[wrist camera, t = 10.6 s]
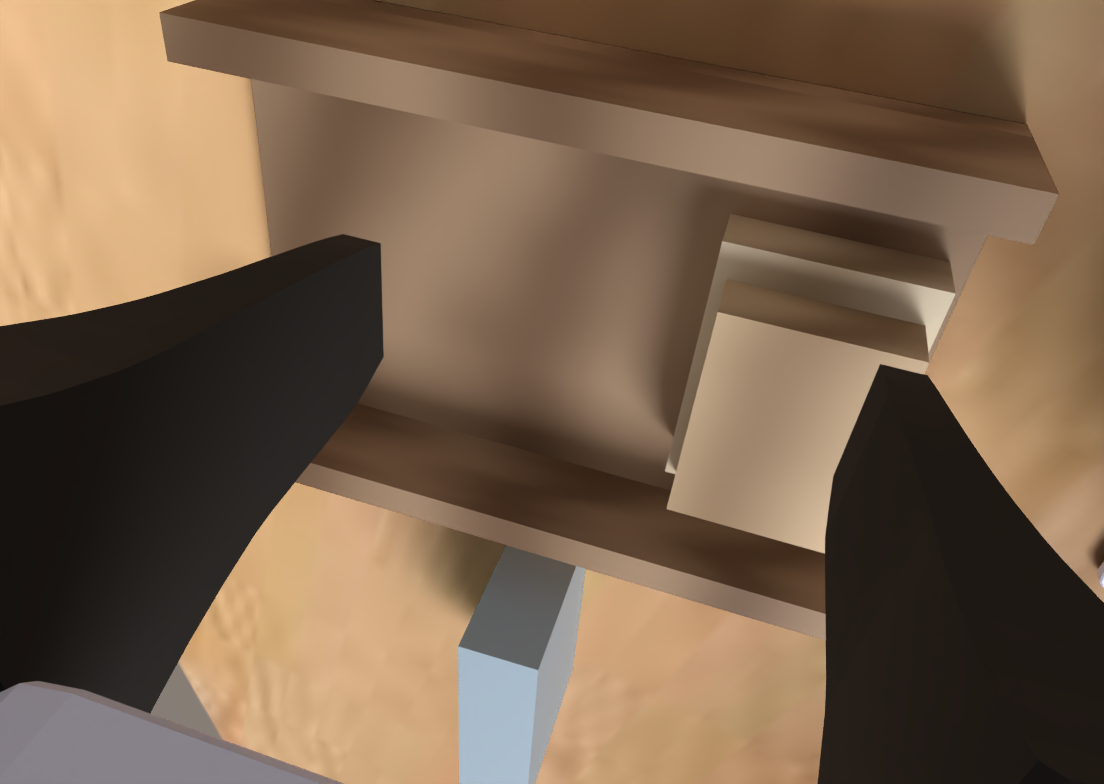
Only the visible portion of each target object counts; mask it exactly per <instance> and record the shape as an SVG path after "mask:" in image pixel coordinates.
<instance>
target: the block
mask: <svg viewBox="0 0 1104 784" xmlns="http://www.w3.org/2000/svg"><path fill="white" fill-rule="evenodd" d="M585 570H586V569H584V568H581V567H578V566H574V565H571V564H568V563H564V562H561V561H558V560H554V559H551V558H548V557H544V556H541V555H538V554H534V553H531V552H528V551H524V550H521V549H517V548H514V547H511V546H507V545H505V547H504V550H503V552H502V554H501V556H500V558H499V560H498V562H497V565H496V567H495V569H494V571H493V573H492V575H491V577H490V580H489V582H488V584H487V586H486V588H485V590H484V592H483V595H482V597H481V599H480V601H479V603H478V605H477V607H476V610H475V612H474V614H473V616H472V618H471V620H470V622H469V625H468V627H467V629H466V631H465V633H464V635H463V637H462V640H461V642H460V644H459V646H458V671H459V784H535V782H536V779H537V776H538V773H539V770H540V767H541V764H542V761H543V758H544V755H545V751H546V748H547V745H548V742H549V739H550V736H551V733H552V730H553V727H554V724H555V721H556V718H557V715H558V712H559V709H560V706H561V703H562V700H563V697H564V694H565V690H566V687H567V684H568V681H569V678H570V675H571V672H572V669H573V663H574V655H575V648H576V640H577V632H578V624H579V617H580V609H581V601H582V593H583V586H584V578H585Z"/></svg>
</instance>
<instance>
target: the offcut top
mask: <svg viewBox="0 0 1104 784" xmlns="http://www.w3.org/2000/svg"><path fill="white" fill-rule="evenodd" d="M880 364H882V365H886V366H891V367H895V368H899V369H903V370H907V371H911V372H915V373H920V374H924V373H925V371H926V369H927V367H928V365H929V354H928V345H927V335H926V326H925V325H920V324H916V323H912V322H907V321H903V320H899V319H894V318H890V317H886V316H882V315H877V314H873V313H869V312H864V311H860V310H856V309H851V308H847V307H843V306H839V305H834V304H830V303H826V302H821V301H817V300H813V299H808V298H804V297H800V296H796V295H791V294H787V293H783V292H778V291H774V290H770V289H765V288H761V287H757V286H752V285H748V284H744V283H740V282H735V281H731V280H726V283H725V287H724V291H723V294H722V298H721V302H720V305H719V309H718V313H717V317H716V320H715V324H714V328H713V332H712V336H711V340H710V344H709V347H708V351H707V355H706V359H705V363H704V367H703V370H702V374H701V378H700V382H699V386H698V390H697V393H696V397H695V401H694V405H693V409H692V413H691V416H690V420H689V424H688V428H687V432H686V436H685V440H684V443H683V447H682V451H681V455H680V459H679V463H678V466H677V470H676V474H675V478H674V482H673V486H672V489H671V493H670V497H669V501H668V505H667V509H668V510H672V511H675V512H679V513H682V514H686V515H689V516H693V517H697V518H700V519H704V520H707V521H711V522H714V523H718V524H721V525H725V526H729V527H732V528H736V529H739V530H743V531H746V532H750V533H753V534H757V535H760V536H764V537H768V538H771V539H775V540H778V541H782V542H785V543H789V544H792V545H796V546H800V547H803V548H807V549H810V550H814V551H817V552H821V553H824V554H825V534H826V526H827V518H828V510H829V502H830V495H831V488H832V481H833V476H834V473H835V471H836V468H837V466H838V464H839V461H840V459H841V456H842V454H843V452H844V449H845V447H846V444H847V442H848V440H849V437H850V435H851V432H852V430H853V428H854V425H855V423H856V421H857V418H858V416H859V413H860V411H861V409H862V406H863V404H864V401H865V399H866V397H867V394H868V392H869V389H870V387H871V385H872V382H873V380H874V377H875V375H876V373H877V370H878V368H879V365H880Z"/></svg>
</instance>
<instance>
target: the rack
mask: <svg viewBox="0 0 1104 784" xmlns="http://www.w3.org/2000/svg"><path fill="white" fill-rule="evenodd" d="M160 19H161V25H162V31H163V37H164V42H165V48H166V54H167V60H168V61H169V62H174V63H179V64H183V65H188V66H193V67H198V68H202V69H207V70H212V71H216V72H221V73H226V74H230V75H235V76H240V77H245V78H249V79H251V81H252V90H253V98H254V107H255V116H256V124H257V133H258V142H259V150H260V159H261V168H262V176H263V185H264V194H265V202H266V211H267V220H268V229H269V237H270V246H271V255H272V256H275V255H278V254H280V253H283V252H286V251H289V250H292V249H295V248H297V247H300V246H303V245H306V244H309V243H312V242H315V241H319V240H322V239H325V238H329V237H333V236H337V235H341V234H345V235H349V236H353V237H357V238H361V239H366V240H370V241H374V242H378V243H381V272H382V311H383V349H384V357H383V359H382V361H381V363H380V364H379V366H378V368H377V370H376V372H375V373H374V375H373V377H372V379H371V381H370V382H369V384H368V386H367V388H366V389H365V391H364V393H363V394H362V396H361V398H360V399H359V401H358V403H357V404H356V406H355V407H354V409H353V410H352V411H351V413H350V414H349V415H348V417H347V418H346V419H345V420H344V422H343V423H342V424H341V426H340V427H339V428H338V429H337V431H336V432H335V433H334V434H333V436H332V437H331V438H330V439H329V441H328V442H327V443H326V444H325V446H324V447H323V448H322V449H321V451H320V452H319V453H318V454H317V456H316V457H315V458H314V459H313V461H312V462H311V463H310V464H309V465H308V467H307V468H306V469H305V470H304V472H303V473H302V474H301V475H300V477H299V478H298V479H297V480H296V482H297V483H300V484H303V485H307V486H310V487H313V488H317V489H320V490H323V491H327V492H330V493H333V494H337V495H340V496H343V497H347V498H350V499H353V500H357V501H360V502H363V503H367V504H370V505H374V506H377V507H380V508H384V509H387V510H390V511H394V512H397V513H400V514H404V515H407V516H410V517H414V518H417V519H420V520H424V521H427V522H430V523H434V524H437V525H440V526H444V527H447V528H451V529H454V530H457V531H461V532H464V533H467V534H471V535H474V536H477V537H481V538H484V539H487V540H491V541H494V542H497V543H501V544H504V545H507V546H511V547H514V548H517V549H521V550H524V551H528V552H531V553H534V554H538V555H541V556H544V557H548V558H551V559H554V560H558V561H561V562H564V563H568V564H571V565H574V566H578V567H581V568H584V569H588V570H591V571H594V572H598V573H601V574H605V575H608V576H611V577H615V578H618V579H621V580H625V581H628V582H631V583H635V584H638V585H641V586H645V587H648V588H651V589H655V590H658V591H661V592H665V593H668V594H672V595H675V596H678V597H682V598H685V599H688V600H692V601H695V602H698V603H702V604H705V605H708V606H712V607H715V608H718V609H722V610H725V611H728V612H732V613H735V614H738V615H742V616H745V617H749V618H752V619H755V620H759V621H762V622H765V623H769V624H772V625H775V626H779V627H782V628H785V629H789V630H792V631H795V632H799V633H802V634H805V635H809V636H812V637H815V638H819V639H822V640H826V614H825V554H824V553H821V552H817V551H814V550H810V549H807V548H803V547H800V546H796V545H792V544H789V543H785V542H782V541H778V540H775V539H771V538H768V537H764V536H760V535H757V534H753V533H750V532H746V531H743V530H739V529H736V528H732V527H729V526H725V525H721V524H718V523H714V522H711V521H707V520H704V519H700V518H697V517H693V516H689V515H686V514H682V513H679V512H675V511H672V510H668V509H667V505H668V501H669V497H670V493H671V489H672V486H673V482H674V478H675V474H672V473H669V472H665V469H666V465H667V461H668V457H669V453H670V449H671V445H672V441H673V437H674V433H675V429H676V425H677V421H678V417H679V413H680V409H681V405H682V401H683V397H684V393H685V389H686V385H687V381H688V377H689V373H690V369H691V365H692V361H693V357H694V353H695V349H696V345H697V341H698V337H699V333H700V329H701V325H702V321H703V317H704V313H705V309H706V305H707V301H708V297H709V293H710V289H711V285H712V281H713V277H714V273H715V269H716V265H717V261H718V257H719V253H720V249H721V245H722V241H723V237H724V234H725V231H726V227H727V224H728V221H729V218H730V214H734V215H738V216H743V217H747V218H752V219H757V220H761V221H766V222H770V223H775V224H779V225H784V226H788V227H793V228H798V229H802V230H807V231H811V232H816V233H820V234H825V235H830V236H834V237H839V238H843V239H848V240H852V241H857V242H861V243H866V244H871V245H875V246H880V247H884V248H889V249H893V250H898V251H903V252H907V253H912V254H916V255H921V256H925V257H930V258H935V259H939V260H944V261H948V262H950V264H951V269H952V275H953V281H954V287H955V292H956V294H955V296H954V298H953V301H952V303H951V305H950V307H949V309H948V312H947V314H946V316H945V318H944V320H943V323H942V325H941V327H940V329H939V331H938V334H937V336H936V338H935V340H934V342H933V344H932V347H931V349H930V351H929V353H928V354H929V362H930V360H931V357H932V355H933V353H934V351H935V349H936V347H937V344H938V342H939V340H940V338H941V336H942V334H943V331H944V329H945V327H946V325H947V323H948V321H949V318H950V316H951V314H952V312H953V310H954V308H955V305H956V303H957V301H958V299H959V297H960V295H961V292H962V290H963V288H964V286H965V284H966V282H967V279H968V277H969V275H970V273H971V271H972V268H973V266H974V264H975V262H976V260H977V258H978V255H979V253H980V251H981V249H982V247H983V245H984V242H985V240H986V238H987V236H993V237H997V238H1002V239H1007V240H1011V241H1016V242H1021V243H1026V244H1030V245H1034V244H1035V242H1036V240H1037V238H1038V236H1039V234H1040V232H1041V230H1042V228H1043V226H1044V224H1045V222H1046V220H1047V218H1048V216H1049V214H1050V212H1051V210H1052V208H1053V206H1054V204H1055V202H1056V200H1057V198H1058V196H1059V193H1058V191H1057V188H1056V186H1055V184H1054V182H1053V180H1052V178H1051V175H1050V173H1049V171H1048V169H1047V167H1046V165H1045V162H1044V160H1043V158H1042V156H1041V154H1040V151H1039V149H1038V147H1037V145H1036V143H1035V141H1034V138H1033V136H1032V134H1031V132H1030V130H1029V128H1028V125H1027V124H1021V123H1016V122H1011V121H1005V120H1000V119H995V118H990V117H984V116H979V115H974V114H969V113H963V112H958V111H953V110H948V109H942V108H937V107H932V106H927V105H921V104H916V103H911V102H906V101H900V100H895V99H890V98H884V97H879V96H874V95H869V94H863V93H858V92H853V91H848V90H842V89H837V88H832V87H827V86H821V85H816V84H811V83H806V82H800V81H795V80H790V79H785V78H779V77H774V76H769V75H763V74H758V73H753V72H748V71H742V70H737V69H732V68H727V67H721V66H716V65H711V64H706V63H700V62H695V61H690V60H685V59H679V58H674V57H669V56H664V55H658V54H653V53H648V52H642V51H637V50H632V49H627V48H621V47H616V46H611V45H606V44H600V43H595V42H590V41H585V40H579V39H574V38H569V37H564V36H558V35H553V34H548V33H543V32H537V31H532V30H527V29H521V28H516V27H511V26H506V25H500V24H495V23H490V22H485V21H479V20H474V19H469V18H464V17H458V16H453V15H448V14H443V13H437V12H432V11H427V10H422V9H416V8H411V7H406V6H400V5H395V4H390V3H385V2H379V1H374V0H195V1H192V2H189V3H186V4H183V5H180V6H177V7H174V8H171V9H168V10H165V11H163V12H160Z"/></svg>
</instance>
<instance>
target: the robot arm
mask: <svg viewBox="0 0 1104 784" xmlns="http://www.w3.org/2000/svg"><path fill="white" fill-rule="evenodd" d="M383 357H384V349H383V311H382V272H381V243H378V242H374V241H370V240H366V239H361V238H357V237H353V236H349V235H345V234H341V235H337V236H333V237H329V238H325V239H322V240H319V241H315V242H312V243H309V244H306V245H303V246H300V247H297V248H295V249H292V250H289V251H286V252H283V253H280V254H278V255H275V256H272V257H269V258H266V259H263V260H261V261H258V262H255V263H252V264H249V265H246V266H244V267H241V268H238V269H235V270H232V271H229V272H227V273H224V274H221V275H218V276H214V277H211V278H208V279H205V280H202V281H198V282H195V283H192V284H189V285H186V286H182V287H179V288H176V289H173V290H170V291H166V292H163V293H160V294H157V295H153V296H150V297H146V298H142V299H139V300H135V301H131V302H127V303H123V304H119V305H114V306H110V307H105V308H101V309H97V310H92V311H88V312H83V313H78V314H73V315H68V316H63V317H57V318H50V319H44V320H38V321H32V322H25V323H19V324H13V325H6V326H0V784H344V783H341V782H338V781H335V780H333V779H330V778H327V777H324V776H322V775H319V774H316V773H313V772H310V771H308V770H305V769H302V768H299V767H297V766H294V765H291V764H288V763H285V762H283V761H280V760H277V759H274V758H272V757H269V756H266V755H263V754H261V753H258V752H255V751H252V750H249V749H247V748H244V747H241V746H238V745H236V744H233V743H230V742H227V741H225V740H222V739H219V738H216V737H213V736H211V735H208V734H205V733H202V732H199V731H197V730H194V729H191V728H188V727H186V726H183V725H180V724H177V723H175V722H172V721H169V720H166V719H164V718H161V717H158V716H155V715H152V714H150V713H151V711H152V709H153V707H154V705H155V703H156V701H157V699H158V698H159V696H160V694H161V692H162V690H163V688H164V687H165V685H166V683H167V681H168V679H169V678H170V675H171V674H172V672H173V670H174V669H175V666H176V665H177V663H178V661H179V659H180V658H181V656H182V654H183V652H184V650H185V648H186V647H187V645H188V643H189V641H190V639H191V638H192V636H193V634H194V633H195V631H196V629H197V628H198V626H199V624H200V622H201V621H202V619H203V617H204V616H205V614H206V612H207V611H208V609H209V607H210V606H211V604H212V602H213V601H214V599H215V597H216V595H217V594H218V592H219V590H220V589H221V587H222V585H223V584H224V582H225V580H226V579H227V577H228V576H229V574H230V573H231V571H232V569H233V568H234V566H235V565H236V563H237V562H238V560H239V558H240V557H241V555H242V554H243V552H244V551H245V549H246V547H247V546H248V544H249V543H250V541H251V539H252V538H253V536H254V535H255V533H256V532H257V530H258V529H259V528H260V526H261V525H262V524H263V522H264V521H265V520H266V518H267V517H268V515H269V514H270V513H271V511H272V510H273V509H274V507H275V506H276V505H277V504H278V503H279V501H280V500H281V499H282V498H283V496H284V495H285V494H286V493H287V491H288V490H289V489H290V488H291V486H292V485H293V484H294V483H295V482H296V480H297V479H298V478H299V477H300V475H301V474H302V473H303V472H304V470H305V469H306V468H307V467H308V465H309V464H310V463H311V462H312V461H313V459H314V458H315V457H316V456H317V454H318V453H319V452H320V451H321V449H322V448H323V447H324V446H325V444H326V443H327V442H328V441H329V439H330V438H331V437H332V436H333V434H334V433H335V432H336V431H337V429H338V428H339V427H340V426H341V424H342V423H343V422H344V420H345V419H346V418H347V417H348V415H349V414H350V413H351V411H352V410H353V409H354V407H355V406H356V404H357V403H358V401H359V399H360V398H361V396H362V394H363V393H364V391H365V389H366V388H367V386H368V384H369V382H370V381H371V379H372V377H373V375H374V373H375V372H376V370H377V368H378V366H379V364H380V363H381V361H382V359H383ZM1097 573H1098V577H1099V581H1100V584H1101V586H1102V587H1103V588H1104V562H1103V563H1102V564H1101V566H1100V567H1099V569H1098V572H1097ZM825 614H826V702H825V718H824V727H823V737H822V747H821V757H820V767H819V777H818V784H1104V603H1103V602H1102V601H1101V600H1100V599H1099V598H1098V597H1097V595H1096V594H1095V593H1094V592H1093V591H1092V590H1091V589H1090V588H1089V587H1088V586H1087V585H1086V584H1085V583H1084V582H1083V581H1082V580H1081V579H1080V578H1079V577H1078V575H1077V574H1076V573H1075V572H1074V571H1073V570H1072V569H1071V568H1070V567H1069V566H1068V565H1067V564H1066V563H1065V562H1064V561H1063V560H1062V559H1061V557H1060V556H1059V555H1058V554H1057V553H1056V552H1055V551H1054V550H1053V548H1052V547H1051V546H1050V545H1049V544H1048V543H1047V542H1046V540H1045V539H1044V538H1043V537H1042V536H1041V534H1040V533H1039V532H1038V531H1037V529H1036V528H1035V527H1034V526H1033V524H1032V523H1031V522H1030V521H1029V520H1028V518H1027V517H1026V516H1025V515H1024V513H1023V512H1022V511H1021V510H1020V508H1019V507H1018V506H1017V505H1016V503H1015V502H1014V501H1013V500H1012V498H1011V497H1010V496H1009V494H1008V493H1007V492H1006V490H1005V489H1004V488H1003V486H1002V485H1001V484H1000V482H999V481H998V479H997V478H996V477H995V475H994V474H993V473H992V471H991V470H990V468H989V467H988V465H987V464H986V463H985V461H984V460H983V458H982V457H981V455H980V454H979V453H978V451H977V450H976V448H975V447H974V445H973V444H972V442H971V441H970V439H969V438H968V436H967V435H966V433H965V432H964V430H963V429H962V427H961V426H960V424H959V422H958V421H957V419H956V418H955V416H954V415H953V413H952V412H951V410H950V409H949V407H948V405H947V404H946V402H945V401H944V399H943V398H942V396H941V395H940V393H939V391H938V390H937V388H936V387H935V385H934V384H933V382H932V381H931V380H930V378H929V377H928V375H924V374H920V373H915V372H911V371H907V370H903V369H899V368H895V367H891V366H886V365H882V364H880V365H879V368H878V370H877V373H876V375H875V377H874V380H873V382H872V385H871V387H870V389H869V392H868V394H867V397H866V399H865V401H864V404H863V406H862V409H861V411H860V413H859V416H858V418H857V421H856V423H855V425H854V428H853V430H852V432H851V435H850V437H849V440H848V442H847V444H846V447H845V449H844V452H843V454H842V456H841V459H840V461H839V464H838V466H837V468H836V471H835V473H834V476H833V481H832V488H831V495H830V502H829V510H828V518H827V526H826V534H825Z"/></svg>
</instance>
